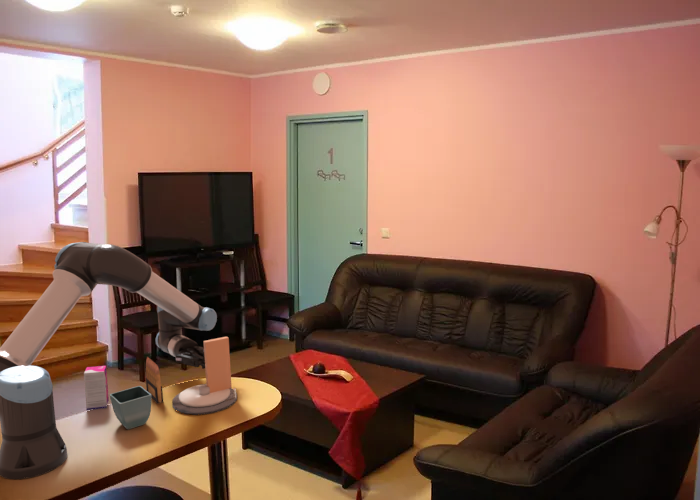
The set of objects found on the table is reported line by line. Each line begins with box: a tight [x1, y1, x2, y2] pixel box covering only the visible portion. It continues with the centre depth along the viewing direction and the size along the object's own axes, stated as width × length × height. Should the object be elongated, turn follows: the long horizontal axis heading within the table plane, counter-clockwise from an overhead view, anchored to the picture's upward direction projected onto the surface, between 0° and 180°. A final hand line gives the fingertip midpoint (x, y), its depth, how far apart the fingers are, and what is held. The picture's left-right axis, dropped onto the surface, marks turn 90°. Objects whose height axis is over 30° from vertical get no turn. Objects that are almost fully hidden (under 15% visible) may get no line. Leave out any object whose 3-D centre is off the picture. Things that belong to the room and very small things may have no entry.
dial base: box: [171, 387, 238, 416], centre depth 181 cm, size 19×19×4 cm
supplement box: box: [83, 365, 110, 411], centre depth 179 cm, size 6×6×12 cm
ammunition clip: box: [145, 356, 164, 405], centre depth 184 cm, size 11×2×12 cm, turn 35°
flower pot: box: [109, 385, 152, 430], centre depth 166 cm, size 9×9×9 cm
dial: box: [178, 336, 233, 407], centre depth 179 cm, size 16×15×17 cm
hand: (218, 366), depth 183 cm, fingers closed
